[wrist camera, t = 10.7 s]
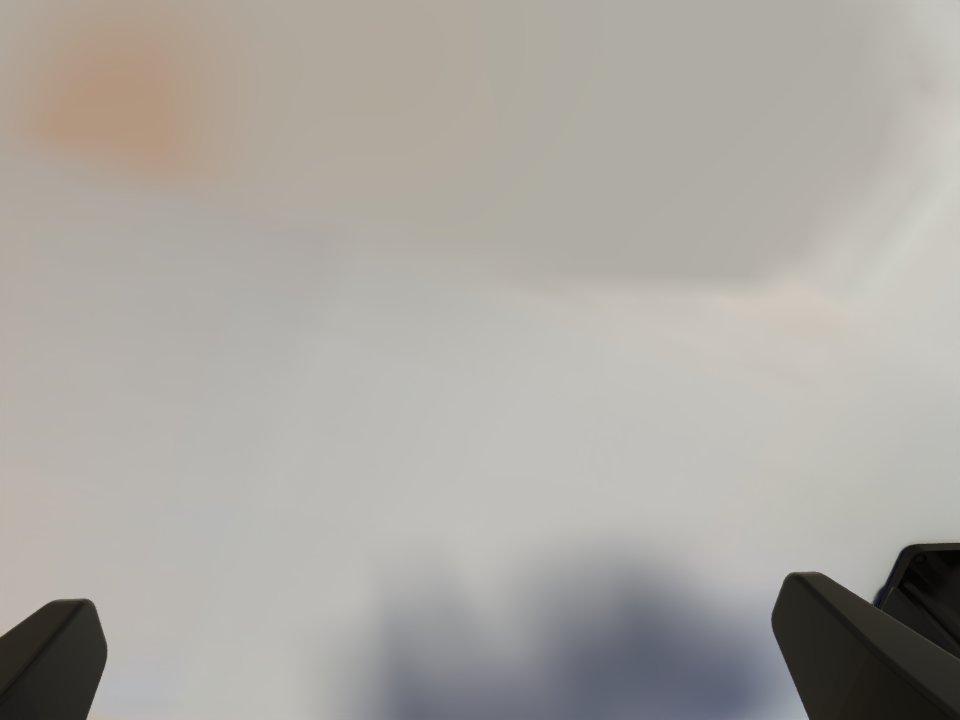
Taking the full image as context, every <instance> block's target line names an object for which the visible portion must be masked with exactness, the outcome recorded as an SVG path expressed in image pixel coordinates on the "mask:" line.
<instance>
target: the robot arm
mask: <svg viewBox="0 0 960 720" xmlns="http://www.w3.org/2000/svg"><path fill="white" fill-rule="evenodd" d="M771 622H772V629H773V632H774V635H775V638H776V640H777V642H778V645H779V647H780V650H781V652H782V655H783V657H784V659H785V662H786V664H787V667H788V669H789V672H790V674H791V676H792V679H793V681H794V684H795V686H796V688H797V691H798V693H799V696H800V698H801V701H802V703H803V705H804V708H805V710H806V713H807V715H808V717H809V720H960V543H942V544H917V545H913V546H911V547H909V548H908V549H906V551H905V552H904V553H903V555H902V558H901V560H900V562H899V564H898V566H897V568H896V570H895V572H894V575H893V577H892V579H891V581H890V583H889V585H888V587H887V589H886V592H885V594H884V596H883V598H882V600H881V602H880V604H879V606H878V608H876V607H875V606H873V605H872V604H870V603H869V602H867V601H865V600H864V599H862V598H861V597H859V596H857V595H856V594H854V593H853V592H851V591H849V590H848V589H846V588H845V587H843V586H842V585H840V584H838V583H837V582H835V581H834V580H832V579H830V578H829V577H827V576H826V575H824V574H822V573H819V572H793V573H790V574H789V575H787V576H786V577H785V579H784V582H783V584H782V587H781V590H780V592H779V595H778V598H777V601H776V603H775V606H774V609H773V612H772V618H771ZM106 659H107V643H106V639H105V636H104V633H103V630H102V626H101V623H100V620H99V617H98V613H97V610H96V607H95V605H94V603H93V602H92V601H91V600H89V599H60V600H54V601H52V602H49V603H48V604H46V605H44V606H43V607H41V608H40V609H39V610H37V611H36V612H35V613H33V614H32V615H30V616H29V617H28V618H26V619H25V620H24V621H22V622H21V623H19V624H18V625H17V626H15V627H14V628H12V629H11V630H10V631H8V632H7V633H6V634H4V635H3V636H1V637H0V720H86V719H87V716H88V713H89V710H90V708H91V705H92V702H93V699H94V696H95V693H96V690H97V688H98V685H99V682H100V679H101V676H102V673H103V670H104V667H105V664H106Z"/></svg>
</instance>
